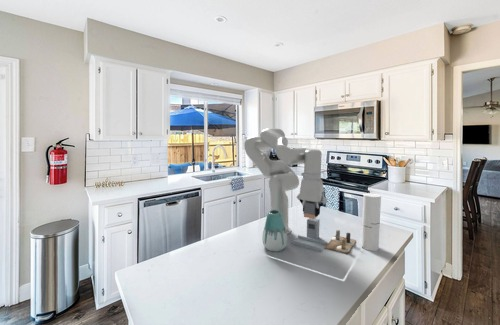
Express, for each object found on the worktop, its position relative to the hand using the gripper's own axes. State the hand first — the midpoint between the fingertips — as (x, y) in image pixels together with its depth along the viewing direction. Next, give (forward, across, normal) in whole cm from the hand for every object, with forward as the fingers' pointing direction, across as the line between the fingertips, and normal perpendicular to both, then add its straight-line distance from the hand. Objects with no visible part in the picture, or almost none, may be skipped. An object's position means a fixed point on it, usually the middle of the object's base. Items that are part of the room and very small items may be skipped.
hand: (311, 214), depth 115 cm
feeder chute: (+16, 0, 0) cm, 16 cm away
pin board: (+15, +12, +8) cm, 21 cm away
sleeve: (+1, 0, 0) cm, 1 cm away
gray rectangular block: (+16, -2, +8) cm, 18 cm away
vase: (+16, -12, -12) cm, 24 cm away
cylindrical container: (+15, +24, +14) cm, 31 cm away
